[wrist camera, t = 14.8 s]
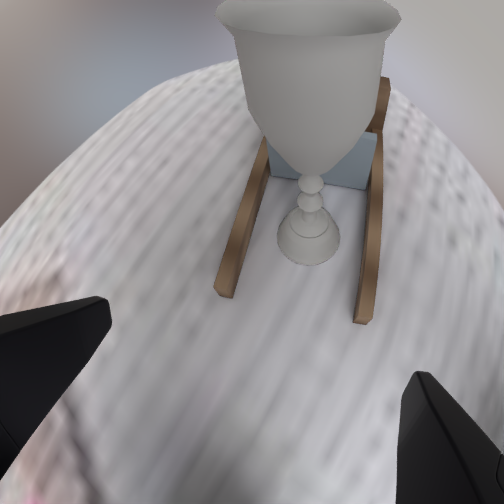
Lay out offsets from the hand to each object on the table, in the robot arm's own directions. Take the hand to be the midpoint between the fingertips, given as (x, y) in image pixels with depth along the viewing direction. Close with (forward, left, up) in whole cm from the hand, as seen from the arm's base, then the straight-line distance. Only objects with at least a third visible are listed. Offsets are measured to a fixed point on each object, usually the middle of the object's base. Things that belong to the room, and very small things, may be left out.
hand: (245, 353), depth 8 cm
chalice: (+5, +10, -14) cm, 18 cm away
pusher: (+8, +15, -13) cm, 21 cm away
